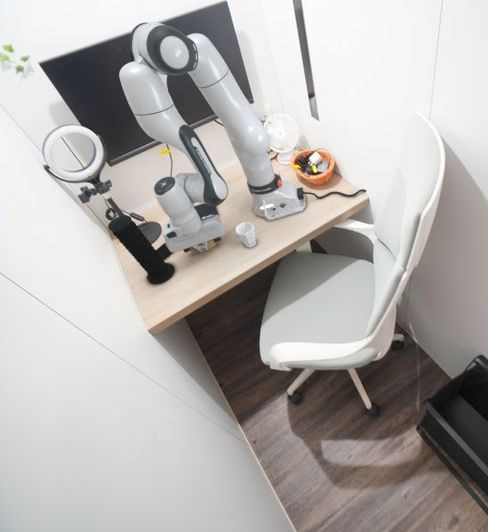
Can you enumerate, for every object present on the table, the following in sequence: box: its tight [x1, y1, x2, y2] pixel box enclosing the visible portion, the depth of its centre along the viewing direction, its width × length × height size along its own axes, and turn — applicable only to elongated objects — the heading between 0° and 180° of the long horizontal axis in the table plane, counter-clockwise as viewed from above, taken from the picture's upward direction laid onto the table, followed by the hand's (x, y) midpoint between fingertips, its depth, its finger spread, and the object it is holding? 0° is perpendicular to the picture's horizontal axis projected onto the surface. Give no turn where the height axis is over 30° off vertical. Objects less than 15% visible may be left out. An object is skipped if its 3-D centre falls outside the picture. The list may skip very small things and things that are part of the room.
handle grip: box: [107, 214, 176, 285], centre depth 108 cm, size 10×26×10 cm
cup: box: [232, 221, 257, 248], centre depth 121 cm, size 7×10×8 cm
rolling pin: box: [182, 236, 222, 255], centre depth 122 cm, size 5×14×5 cm, turn 113°
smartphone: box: [155, 242, 173, 260], centre depth 124 cm, size 7×1×15 cm
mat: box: [194, 203, 219, 218], centre depth 139 cm, size 16×12×1 cm
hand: (204, 250), depth 120 cm, fingers closed
